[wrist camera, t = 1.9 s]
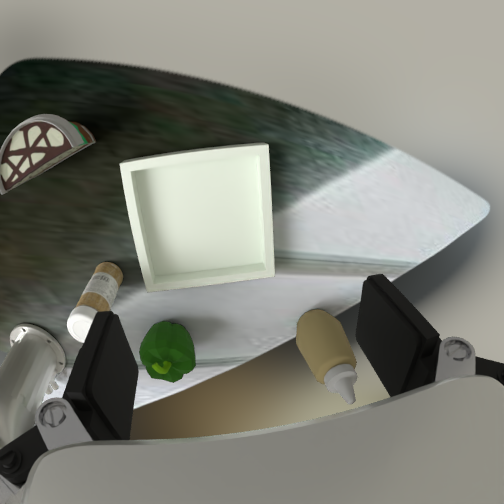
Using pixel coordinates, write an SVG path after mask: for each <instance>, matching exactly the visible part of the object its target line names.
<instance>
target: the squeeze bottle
mask: <svg viewBox="0 0 504 504" xmlns="http://www.w3.org/2000/svg"><path fill="white" fill-rule="evenodd" d="M296 344H297V346H298V348H299V350H300V352H301V353H302V355H303V357H304V359H305V360H306V362H307V364H308V366H309V367H310V369H311V371H312V373H313V374H314V376H315V378H316V379H317V381H318V382H320V383H321V384H325V385H326V387H327V389H328V391H330V392H333V393H339V394H340V395H341V396H342V398H343V399H344V400H345V401H346V402H347V403H348V404H353V403H354V402H355V401H356V399H355V394H354V389H353V385H354V383H355V382H356V380H357V373H356V372H355V370H354V369H355V367H356V363H357V362H356V359H355V356H354V354H353V351H352V349H351V346H350V344H349V342H348V339H347V337H346V334H345V332H344V330H343V327H342V325H341V323H340V322H339V321H338V320H337V319H336V318H335V317H333V316H332V315H330V314H328V313H327V312H325V311H324V310H319V309H316V310H311V311H308V312H306V313H305V314H304V315H302V316H301V317H300V319H299V321H298V323H297V334H296Z"/></svg>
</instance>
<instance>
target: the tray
mask: <svg viewBox="0 0 504 504" xmlns="http://www.w3.org/2000/svg"><path fill="white" fill-rule="evenodd" d="M120 169H121V175H122V181H123V187H124V192H125V198H126V203H127V208H128V213H129V218H130V223H131V228H132V232H133V237H134V242H135V246H136V250H137V255H138V259H139V263H140V267H141V271H142V275H143V279H144V283H145V286H146V290H147V292H156V291H165V290H173V289H182V288H190V287H199V286H207V285H215V284H223V283H231V282H238V281H246V280H253V279H261V278H268V277H275V268H274V243H273V220H272V199H271V180H270V161H269V145H268V144H266V143H251V144H239V145H228V146H219V147H209V148H201V149H193V150H185V151H178V152H171V153H164V154H158V155H152V156H146V157H140V158H134V159H129V160H125V161H123V162H122V163H120Z"/></svg>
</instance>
